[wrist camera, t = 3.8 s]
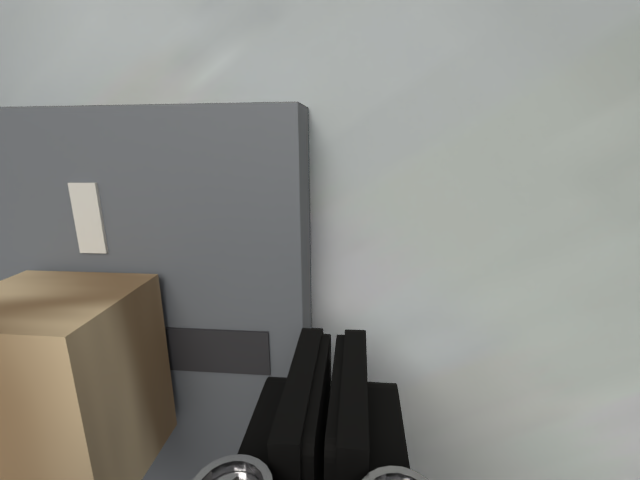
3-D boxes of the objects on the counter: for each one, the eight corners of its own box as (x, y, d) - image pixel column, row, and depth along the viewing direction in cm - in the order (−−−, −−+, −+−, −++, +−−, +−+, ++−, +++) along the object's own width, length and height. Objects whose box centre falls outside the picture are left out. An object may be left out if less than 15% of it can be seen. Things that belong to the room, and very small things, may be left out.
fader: (158, 273, 11) (64, 337, 7) (177, 424, 12) (105, 536, 9) (26, 270, 11) (-119, 328, 8) (58, 416, 12) (-54, 520, 9)
